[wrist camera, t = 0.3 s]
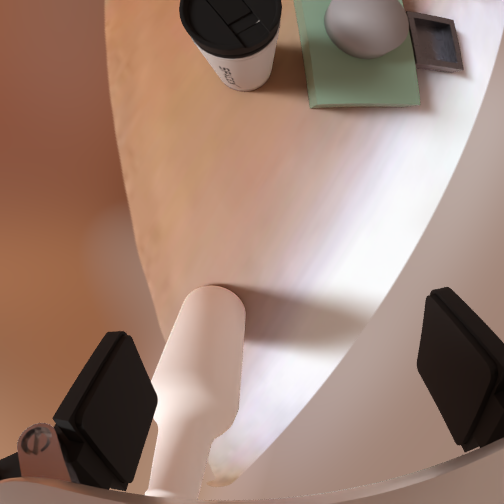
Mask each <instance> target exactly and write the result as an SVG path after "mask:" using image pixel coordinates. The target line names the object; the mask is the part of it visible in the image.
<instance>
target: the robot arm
mask: <svg viewBox="0 0 504 504" xmlns="http://www.w3.org/2000/svg"><path fill="white" fill-rule="evenodd" d="M417 368H418V372H419V374H420V375H421V377H422V379H423V381H424V383H425V385H426V386H427V388H428V390H429V392H430V394H431V396H432V397H433V399H434V401H435V403H436V405H437V407H438V409H439V411H440V413H441V415H442V417H443V418H444V421H445V423H446V425H447V426H448V429H449V430H450V433H451V435H452V436H453V439H454V441H455V443H456V444H457V445H461V446H462V448H463V450H464V452H467V451H470V450H472V449H474V448H476V447H480V448H479V449H477V450H475V451H472V452H470V453H468V454H465V455H462V456H460V457H457V458H455V459H452V460H449V461H446V462H444V463H441V464H438V465H435V466H432V467H430V468H427V469H424V470H420V471H417V472H414V473H411V474H408V475H404V476H401V477H397V478H393V479H390V480H386V481H382V482H378V483H374V484H369V485H365V486H360V487H355V488H350V489H345V490H340V491H334V492H328V493H322V494H315V495H307V496H300V497H289V498H280V499H279V498H278V499H264V500H236V501H219V500H216V501H215V500H213V501H212V500H190V499H175V498H164V497H155V496H146V495H139V494H132V493H126V492H118V491H113V490H109V488H112V489H117V490H122V491H126V489H127V486H128V483H131V482H132V481H133V479H134V476H135V473H136V469H137V466H138V463H139V460H140V457H141V453H142V450H143V447H144V444H145V441H146V438H147V435H148V431H149V428H150V425H151V422H152V419H153V416H154V413H155V410H156V407H157V404H158V397H157V394H156V392H155V389H154V387H153V385H152V383H151V381H150V379H149V376H148V374H147V372H146V370H145V368H144V365H143V363H142V361H141V358H140V356H139V354H138V351H137V349H136V346H135V344H134V342H133V339H132V337H131V336H129V335H127V334H126V333H125V332H124V331H118V332H107V333H106V335H105V336H104V337H103V339H102V340H101V342H100V343H99V345H98V346H97V348H96V349H95V351H94V353H93V354H92V356H91V357H90V359H89V360H88V362H87V363H86V365H85V366H84V368H83V369H82V371H81V373H80V374H79V376H78V377H77V379H76V380H75V382H74V384H73V385H72V387H71V388H70V390H69V392H68V393H67V395H66V397H65V398H64V400H63V401H62V403H61V405H60V407H59V408H58V410H57V412H56V413H55V415H54V417H53V420H54V421H55V423H56V424H55V426H54V428H53V427H52V426H51V425H50V424H46V423H38V424H34V425H32V426H30V427H28V428H27V429H26V430H25V431H24V432H23V433H22V434H21V436H20V437H19V440H18V443H17V450H18V452H16V453H14V454H12V455H10V456H8V457H6V458H3V459H1V460H0V504H504V343H503V342H502V341H501V340H500V339H499V338H498V336H497V335H496V334H495V333H494V332H493V331H492V330H491V329H490V328H489V327H488V326H487V325H486V324H485V323H484V322H483V320H482V319H481V318H480V317H479V316H478V315H477V314H476V313H475V312H474V311H473V310H472V309H471V308H470V307H469V306H468V305H467V304H466V303H465V302H464V301H463V300H462V299H461V298H460V297H459V296H458V295H457V294H456V293H455V292H454V291H453V290H452V289H450V288H449V287H444V288H440V289H435V290H432V291H431V293H430V296H427V298H426V302H425V311H424V319H423V327H422V334H421V341H420V347H419V353H418V359H417Z"/></svg>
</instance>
